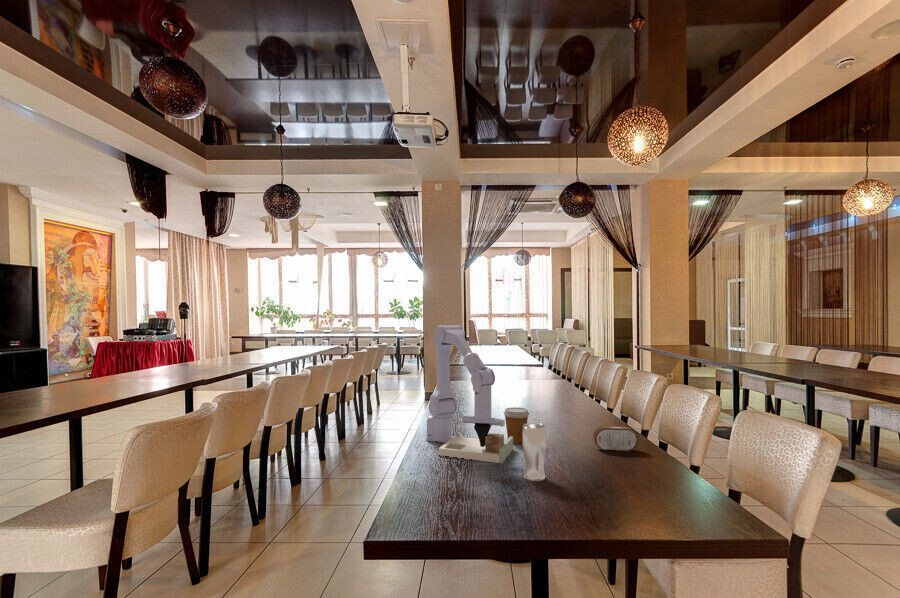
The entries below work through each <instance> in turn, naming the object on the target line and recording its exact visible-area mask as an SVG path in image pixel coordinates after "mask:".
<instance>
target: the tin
mask: <svg viewBox="0 0 900 598" xmlns="http://www.w3.org/2000/svg"><path fill="white" fill-rule="evenodd" d="M592 440H593V442H594V444H595V445H596V446H597V448H598V449H600V450H602V451H605V450H615V451H614V452H631V451H633V450H635V449H636V447H638V445H639V437H638V434H637V433H636V432H635V430H634V429H633V428H632V427H629V426H626V425H625V426H624V425H623V426H622V425H620V426H619V425H600V426H598V427H597V428H596V429H595V431H594V432H593V435H592Z"/></svg>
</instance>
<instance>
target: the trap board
mask: <svg viewBox="0 0 900 598" xmlns="http://www.w3.org/2000/svg"><path fill="white" fill-rule="evenodd" d="M511 451H514V444H513V437H511V436H510V437H509V438H508V437H507V439H506V440H505V441H504V444H503V445H502V446H501V447H500V448H499V454H498V453H489V452H485V446H484V447H481V446H480V441H479V438H474V437H463V436H456V437H453V438H452V439H451V440H449V441H448V442H447V443H446V442H444V444H443V445H441V446H440V447H439V448H438V456H439V455H440V456H439V457H445V456H449V457H448V458H453V457H457V458H456V459H461V458H464V459H463V460H470V459H472V460H473V461H478V460H479V461H480V462H489V463H495V464H503V463H504V462H505V460H506V459H507V458H508V457H509V456H510V455H511V453H512V452H511ZM507 456H508V457H507ZM472 460H471V461H472Z"/></svg>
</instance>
